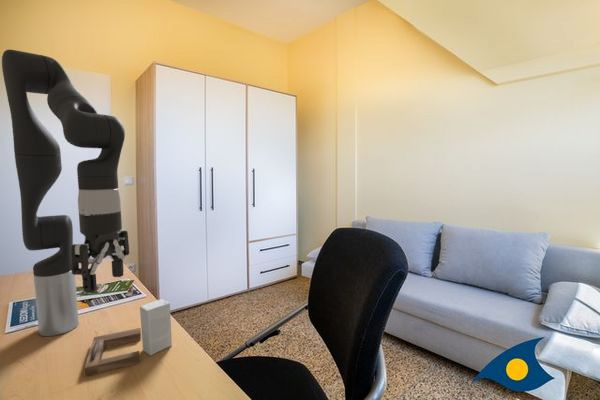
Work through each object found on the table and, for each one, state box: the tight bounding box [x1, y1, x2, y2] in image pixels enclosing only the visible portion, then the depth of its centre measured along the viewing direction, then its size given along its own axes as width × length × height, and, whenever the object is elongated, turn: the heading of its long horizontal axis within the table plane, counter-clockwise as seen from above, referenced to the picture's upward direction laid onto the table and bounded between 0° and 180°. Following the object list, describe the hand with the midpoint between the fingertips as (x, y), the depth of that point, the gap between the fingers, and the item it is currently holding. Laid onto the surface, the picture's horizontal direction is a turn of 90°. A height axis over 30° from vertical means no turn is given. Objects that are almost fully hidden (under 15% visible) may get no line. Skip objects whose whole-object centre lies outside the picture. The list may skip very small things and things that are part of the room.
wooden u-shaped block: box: [83, 327, 142, 377], centre depth 78 cm, size 14×11×3 cm
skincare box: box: [139, 298, 173, 356], centre depth 80 cm, size 6×4×12 cm
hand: (105, 283), depth 67 cm, fingers open, 8 cm apart
